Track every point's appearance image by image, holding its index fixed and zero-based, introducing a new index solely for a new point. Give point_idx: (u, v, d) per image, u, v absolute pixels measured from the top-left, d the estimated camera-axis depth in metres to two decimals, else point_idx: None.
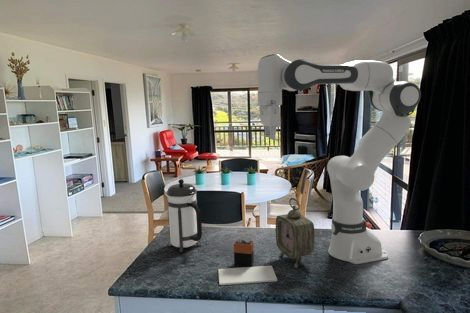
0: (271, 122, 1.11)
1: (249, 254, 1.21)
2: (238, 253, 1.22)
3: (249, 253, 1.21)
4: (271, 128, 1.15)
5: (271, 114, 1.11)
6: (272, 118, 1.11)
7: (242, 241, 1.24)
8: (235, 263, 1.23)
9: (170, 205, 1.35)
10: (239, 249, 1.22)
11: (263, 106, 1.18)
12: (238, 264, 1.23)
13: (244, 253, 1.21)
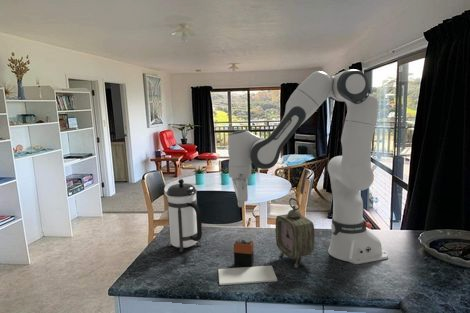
0: (239, 197, 1.18)
1: (249, 254, 1.21)
2: (238, 253, 1.22)
3: (249, 253, 1.21)
4: None
5: (239, 190, 1.18)
6: (240, 194, 1.18)
7: (242, 241, 1.24)
8: (235, 263, 1.23)
9: (170, 205, 1.35)
10: (239, 249, 1.22)
11: (233, 178, 1.25)
12: (238, 264, 1.23)
13: (244, 253, 1.21)
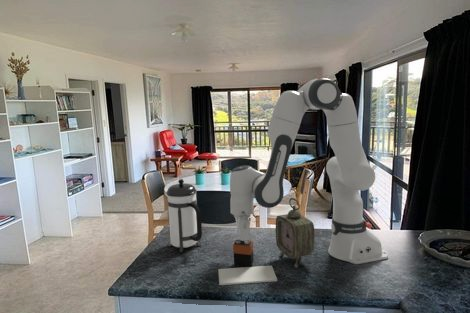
0: (241, 237, 1.16)
1: (249, 255, 1.20)
2: (238, 254, 1.21)
3: (249, 254, 1.20)
4: None
5: (241, 229, 1.15)
6: (242, 233, 1.15)
7: (241, 241, 1.23)
8: (235, 263, 1.23)
9: (170, 205, 1.35)
10: (239, 250, 1.21)
11: (235, 215, 1.23)
12: (238, 264, 1.23)
13: (244, 254, 1.21)
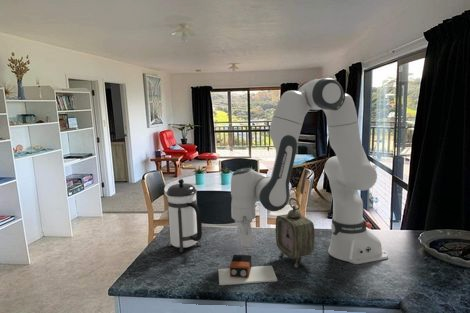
0: (242, 243, 1.10)
1: None
2: None
3: None
4: None
5: (242, 235, 1.10)
6: (243, 239, 1.10)
7: (237, 270, 1.14)
8: None
9: (170, 205, 1.35)
10: None
11: (236, 219, 1.18)
12: None
13: None
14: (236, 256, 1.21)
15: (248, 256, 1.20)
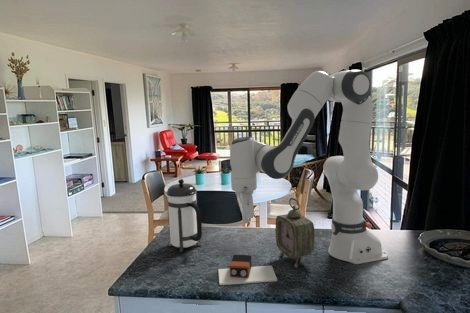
0: (244, 214, 1.04)
1: None
2: None
3: None
4: None
5: (243, 206, 1.04)
6: (245, 210, 1.04)
7: (237, 270, 1.14)
8: None
9: (170, 205, 1.35)
10: None
11: (237, 191, 1.12)
12: None
13: None
14: (236, 256, 1.21)
15: (248, 256, 1.20)
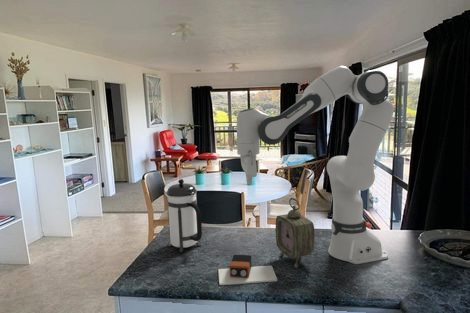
0: (248, 173, 1.21)
1: None
2: None
3: None
4: None
5: (248, 165, 1.21)
6: (249, 169, 1.21)
7: (237, 270, 1.14)
8: None
9: (170, 205, 1.35)
10: None
11: (242, 155, 1.28)
12: None
13: None
14: (236, 256, 1.21)
15: (248, 256, 1.20)
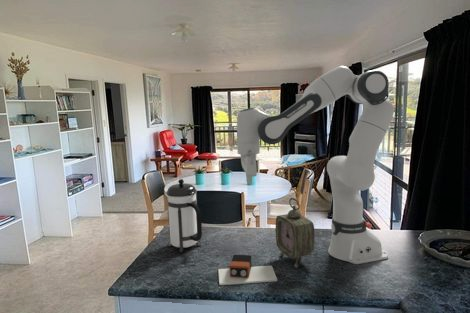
0: (248, 172, 1.21)
1: None
2: None
3: None
4: None
5: (248, 165, 1.21)
6: (249, 169, 1.21)
7: (237, 270, 1.14)
8: None
9: (170, 205, 1.35)
10: None
11: (242, 155, 1.28)
12: None
13: None
14: (236, 256, 1.21)
15: (248, 256, 1.20)
